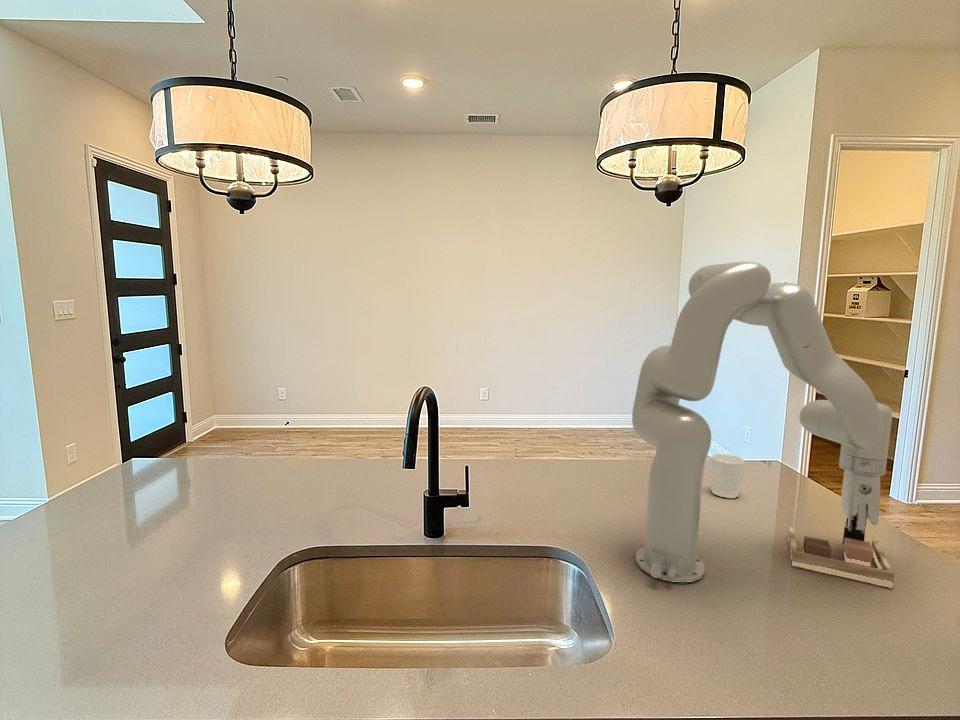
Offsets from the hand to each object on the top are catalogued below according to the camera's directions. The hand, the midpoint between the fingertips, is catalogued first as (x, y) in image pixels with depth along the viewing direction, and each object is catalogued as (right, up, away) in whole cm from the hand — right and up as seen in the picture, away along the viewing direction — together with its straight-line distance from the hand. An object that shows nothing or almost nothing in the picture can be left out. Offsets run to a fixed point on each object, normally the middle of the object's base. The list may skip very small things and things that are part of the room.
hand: (852, 548), depth 104 cm
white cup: (-11, +3, +31) cm, 33 cm away
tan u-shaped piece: (-6, -1, -3) cm, 6 cm away
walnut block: (-10, -2, -3) cm, 10 cm away
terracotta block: (-2, -2, -4) cm, 4 cm away
